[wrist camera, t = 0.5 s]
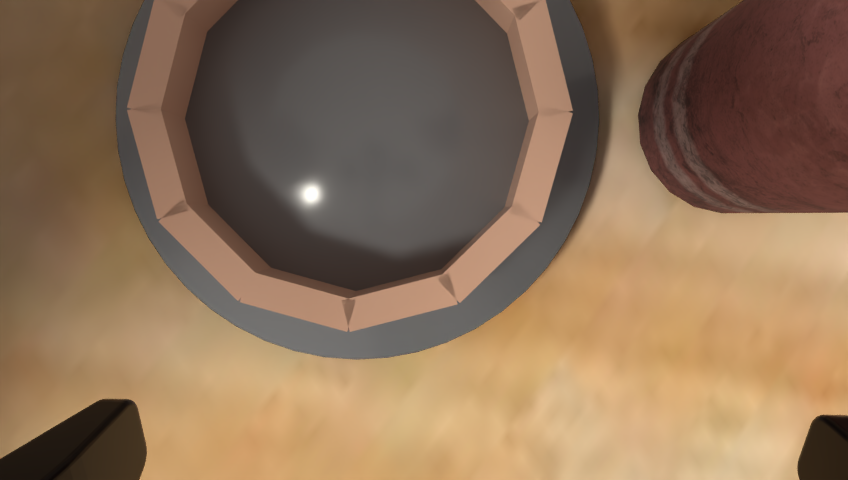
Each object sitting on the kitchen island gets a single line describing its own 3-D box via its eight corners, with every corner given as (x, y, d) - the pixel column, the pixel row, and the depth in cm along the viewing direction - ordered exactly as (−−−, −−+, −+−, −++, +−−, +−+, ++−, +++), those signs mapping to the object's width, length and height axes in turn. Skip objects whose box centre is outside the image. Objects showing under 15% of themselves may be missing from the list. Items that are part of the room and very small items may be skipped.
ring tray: (641, 289, 21) (671, 300, 18) (197, 402, 21) (165, 429, 19) (528, -170, 20) (542, -226, 18) (72, -46, 21) (21, -83, 18)
